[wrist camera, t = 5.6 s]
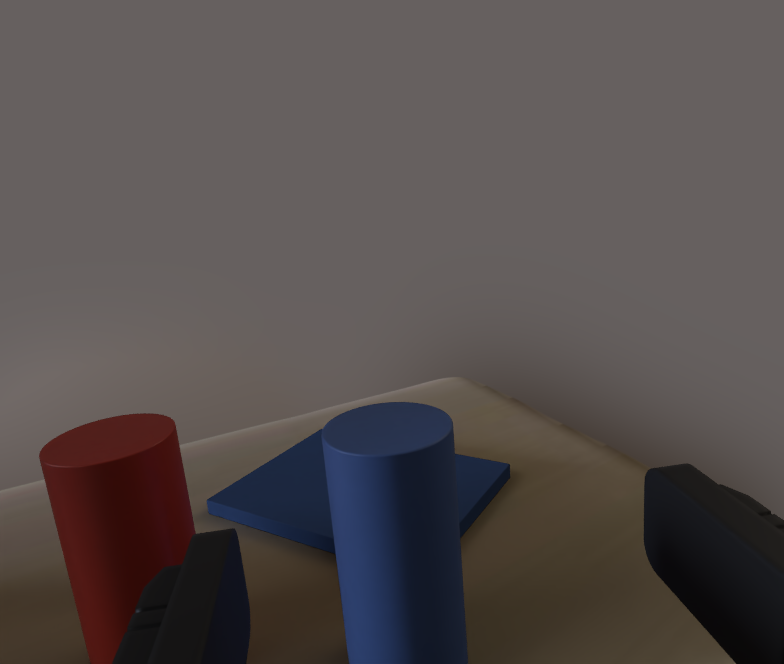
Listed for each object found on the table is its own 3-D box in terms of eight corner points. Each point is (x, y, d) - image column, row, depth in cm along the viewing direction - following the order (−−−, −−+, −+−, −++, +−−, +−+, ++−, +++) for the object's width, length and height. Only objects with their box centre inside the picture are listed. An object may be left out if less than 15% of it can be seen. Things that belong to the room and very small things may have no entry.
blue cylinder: (326, 686, 25) (293, 441, 22) (390, 610, 29) (369, 395, 26) (433, 736, 22) (410, 465, 20) (487, 645, 26) (474, 410, 24)
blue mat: (208, 513, 39) (206, 499, 39) (322, 440, 49) (321, 428, 49) (424, 582, 31) (423, 565, 31) (510, 477, 41) (510, 463, 40)
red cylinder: (73, 685, 26) (12, 452, 24) (168, 612, 30) (126, 407, 28) (146, 732, 24) (88, 476, 21) (239, 646, 28) (201, 422, 25)
